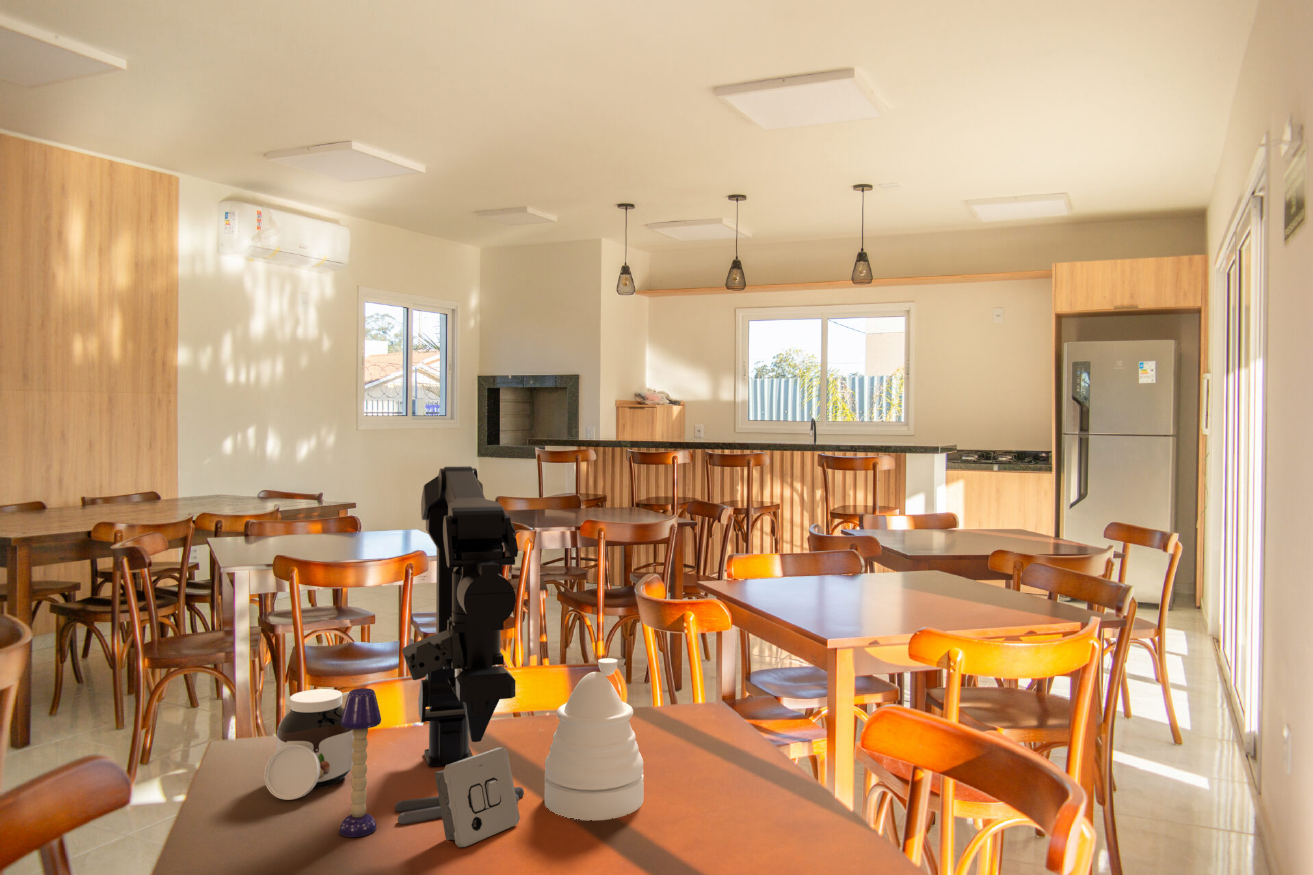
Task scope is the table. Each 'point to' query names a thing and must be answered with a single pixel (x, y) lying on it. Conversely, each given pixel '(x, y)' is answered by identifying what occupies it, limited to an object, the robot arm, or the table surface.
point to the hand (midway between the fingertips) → (475, 740)
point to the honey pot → (594, 753)
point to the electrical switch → (477, 797)
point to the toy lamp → (359, 758)
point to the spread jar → (310, 746)
